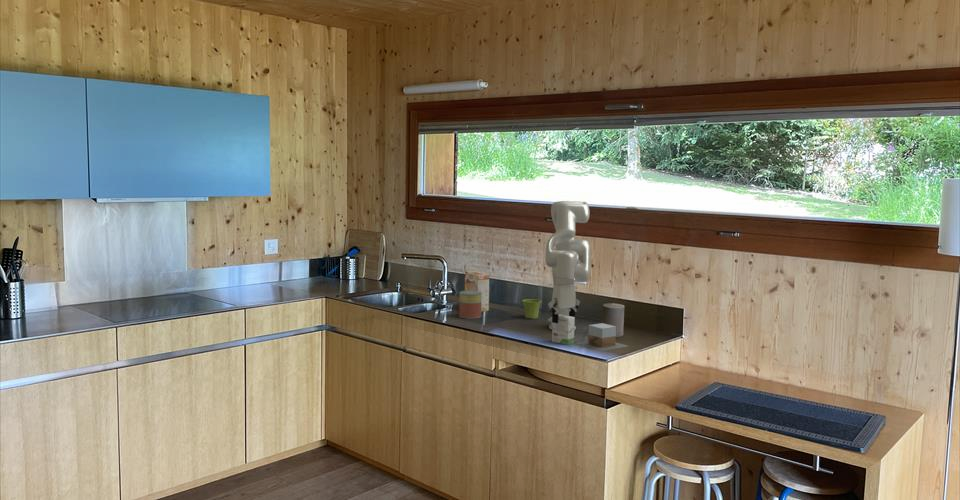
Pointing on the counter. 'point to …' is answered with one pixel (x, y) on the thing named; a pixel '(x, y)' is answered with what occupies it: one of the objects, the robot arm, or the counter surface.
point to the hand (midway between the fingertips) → (563, 321)
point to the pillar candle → (614, 316)
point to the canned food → (470, 304)
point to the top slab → (602, 330)
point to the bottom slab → (601, 341)
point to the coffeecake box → (478, 286)
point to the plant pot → (531, 308)
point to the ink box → (563, 330)
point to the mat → (585, 343)
